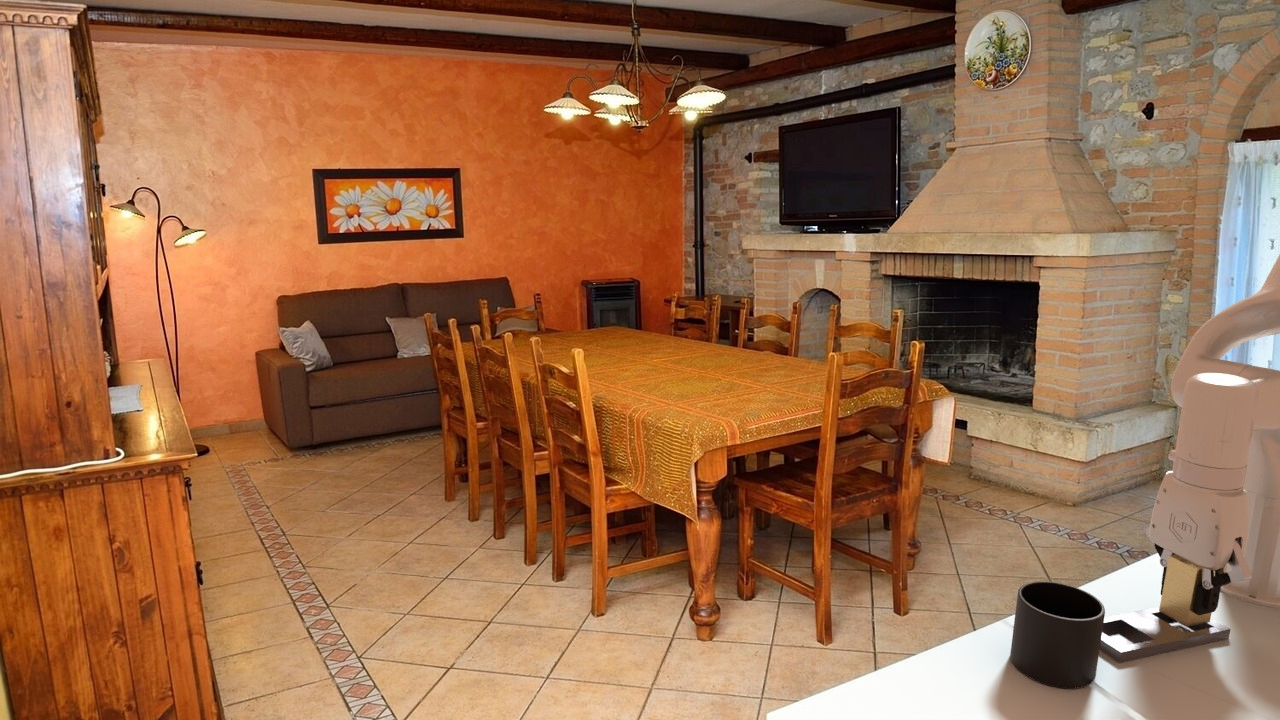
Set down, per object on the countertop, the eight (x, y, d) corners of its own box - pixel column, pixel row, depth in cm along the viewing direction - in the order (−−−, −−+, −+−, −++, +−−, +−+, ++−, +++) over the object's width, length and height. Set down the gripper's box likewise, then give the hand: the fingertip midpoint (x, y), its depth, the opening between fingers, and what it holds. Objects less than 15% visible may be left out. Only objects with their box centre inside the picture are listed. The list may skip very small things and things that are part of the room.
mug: (1129, 675, 101) (1140, 607, 99) (1053, 697, 97) (1063, 626, 95) (1065, 635, 110) (1073, 572, 108) (993, 653, 105) (1000, 588, 103)
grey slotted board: (1179, 615, 115) (1181, 602, 114) (1227, 642, 108) (1230, 629, 108) (1074, 637, 109) (1076, 623, 109) (1118, 667, 103) (1121, 652, 102)
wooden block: (1181, 606, 112) (1192, 551, 111) (1209, 622, 109) (1220, 565, 107) (1159, 610, 111) (1169, 555, 109) (1186, 626, 108) (1197, 569, 106)
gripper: (1128, 453, 112) (1111, 578, 116) (1251, 501, 96) (1227, 643, 101) (1171, 447, 114) (1153, 569, 118) (1298, 492, 98) (1272, 631, 103)
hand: (1187, 602), depth 110 cm, fingers closed on wooden block, 4 cm apart
